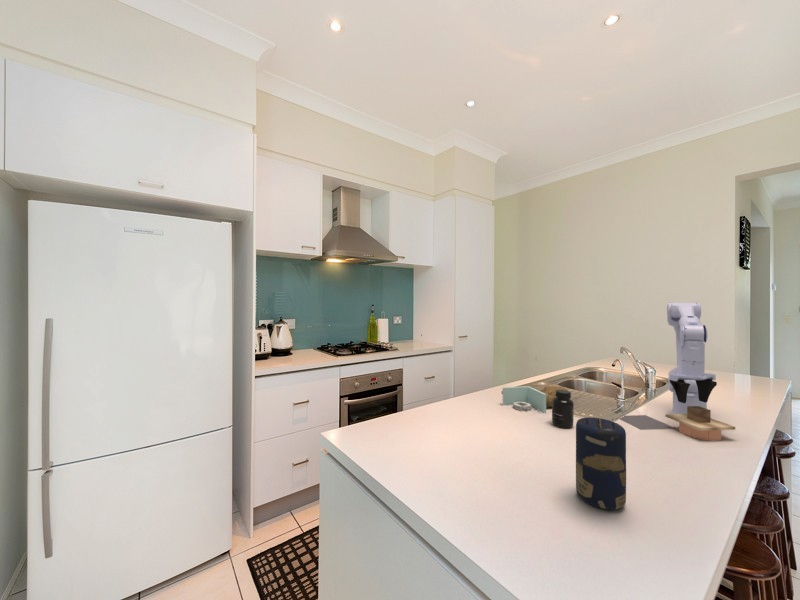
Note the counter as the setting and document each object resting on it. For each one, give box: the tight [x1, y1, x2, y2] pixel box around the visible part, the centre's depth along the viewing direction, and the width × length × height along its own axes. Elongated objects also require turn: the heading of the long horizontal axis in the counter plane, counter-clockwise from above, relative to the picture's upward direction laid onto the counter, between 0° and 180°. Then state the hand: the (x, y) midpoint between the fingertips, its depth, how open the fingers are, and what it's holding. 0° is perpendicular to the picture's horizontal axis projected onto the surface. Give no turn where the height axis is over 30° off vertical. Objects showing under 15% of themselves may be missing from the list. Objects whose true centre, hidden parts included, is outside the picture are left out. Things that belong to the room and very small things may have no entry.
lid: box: [665, 406, 736, 431], centre depth 108 cm, size 12×12×5 cm
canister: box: [575, 416, 627, 510], centre depth 73 cm, size 10×10×18 cm
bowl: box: [678, 422, 722, 442], centre depth 108 cm, size 10×10×4 cm
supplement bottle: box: [551, 390, 575, 430], centre depth 116 cm, size 7×7×12 cm
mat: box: [619, 414, 677, 431], centre depth 118 cm, size 13×13×1 cm
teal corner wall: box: [502, 385, 547, 414], centre depth 133 cm, size 12×12×8 cm
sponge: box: [539, 385, 569, 409], centre depth 142 cm, size 13×8×20 cm
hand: (692, 401), depth 110 cm, fingers open, 7 cm apart
